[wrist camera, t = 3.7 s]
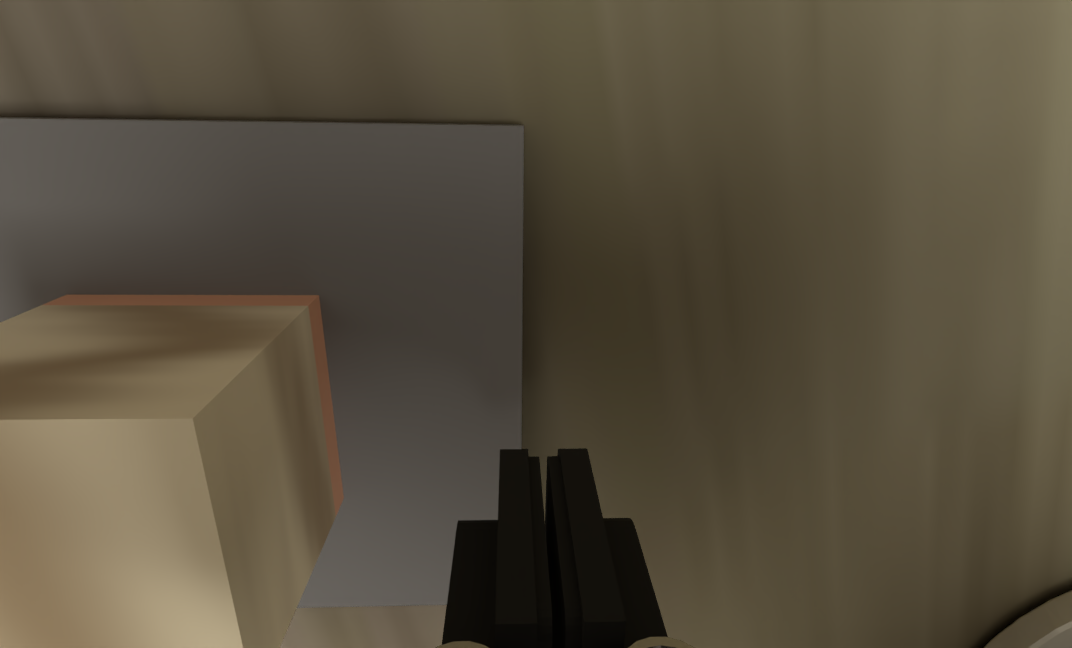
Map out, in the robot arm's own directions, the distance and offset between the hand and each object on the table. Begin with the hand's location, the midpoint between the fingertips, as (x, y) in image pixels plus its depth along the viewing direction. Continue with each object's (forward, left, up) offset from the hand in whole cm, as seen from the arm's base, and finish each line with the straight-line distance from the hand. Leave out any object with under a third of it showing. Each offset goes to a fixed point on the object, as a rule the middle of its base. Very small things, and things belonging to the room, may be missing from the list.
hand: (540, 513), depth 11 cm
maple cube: (+8, 0, -5) cm, 9 cm away
